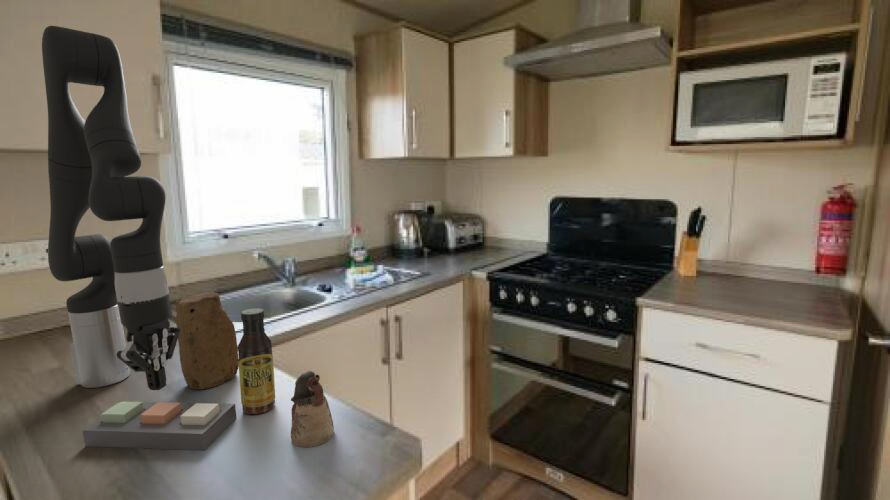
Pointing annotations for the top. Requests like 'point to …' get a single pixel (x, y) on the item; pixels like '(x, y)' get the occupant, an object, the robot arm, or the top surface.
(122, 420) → the sage button
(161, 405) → the terracotta button
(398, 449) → the top surface
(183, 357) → the brown sandstone rock
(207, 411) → the cream button
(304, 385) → the figurine
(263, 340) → the sauce bottle
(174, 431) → the button panel
